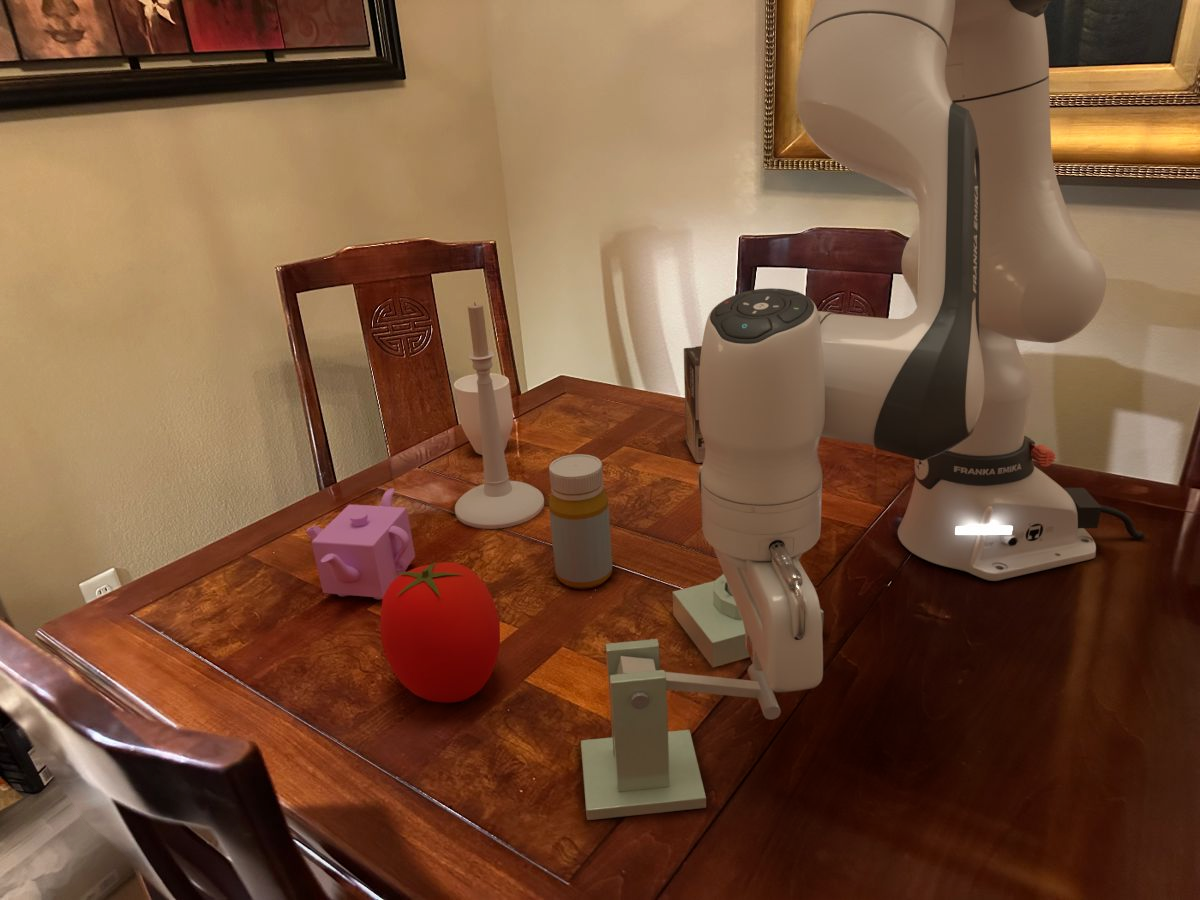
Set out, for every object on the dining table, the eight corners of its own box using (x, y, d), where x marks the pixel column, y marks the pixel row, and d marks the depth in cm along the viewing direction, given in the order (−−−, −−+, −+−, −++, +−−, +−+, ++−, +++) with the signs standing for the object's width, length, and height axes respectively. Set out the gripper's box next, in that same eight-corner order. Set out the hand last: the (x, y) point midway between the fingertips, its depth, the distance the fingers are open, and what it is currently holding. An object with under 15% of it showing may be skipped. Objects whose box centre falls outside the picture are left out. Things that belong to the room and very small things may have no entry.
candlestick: (553, 487, 126) (534, 289, 113) (532, 530, 114) (509, 315, 102) (471, 485, 128) (444, 290, 116) (442, 527, 116) (409, 316, 104)
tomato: (366, 689, 86) (340, 572, 80) (451, 634, 94) (433, 523, 88) (446, 743, 79) (425, 618, 73) (531, 678, 86) (518, 560, 80)
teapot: (353, 541, 114) (339, 477, 110) (443, 547, 111) (433, 482, 107) (280, 620, 98) (261, 548, 94) (383, 630, 95) (369, 556, 91)
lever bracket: (689, 739, 77) (687, 624, 72) (706, 808, 70) (705, 686, 65) (581, 750, 77) (571, 635, 72) (586, 820, 70) (575, 699, 64)
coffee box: (736, 459, 130) (736, 361, 124) (695, 464, 130) (694, 365, 123) (721, 436, 139) (721, 343, 132) (683, 440, 138) (681, 346, 132)
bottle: (606, 593, 99) (599, 479, 93) (549, 589, 101) (538, 477, 95) (617, 561, 106) (610, 453, 99) (563, 558, 107) (553, 451, 101)
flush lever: (759, 680, 74) (767, 658, 73) (776, 725, 69) (784, 702, 68) (613, 666, 72) (618, 643, 71) (619, 710, 67) (625, 686, 66)
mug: (509, 461, 135) (501, 391, 130) (456, 460, 136) (446, 391, 131) (525, 432, 145) (518, 366, 141) (476, 432, 147) (467, 366, 142)
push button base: (774, 588, 98) (775, 551, 96) (822, 636, 90) (825, 597, 88) (672, 615, 95) (671, 577, 93) (712, 668, 86) (712, 628, 84)
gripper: (851, 583, 54) (842, 747, 60) (766, 451, 72) (765, 586, 78) (754, 594, 54) (754, 758, 59) (693, 459, 72) (698, 593, 78)
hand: (760, 659), depth 69 cm, fingers closed
